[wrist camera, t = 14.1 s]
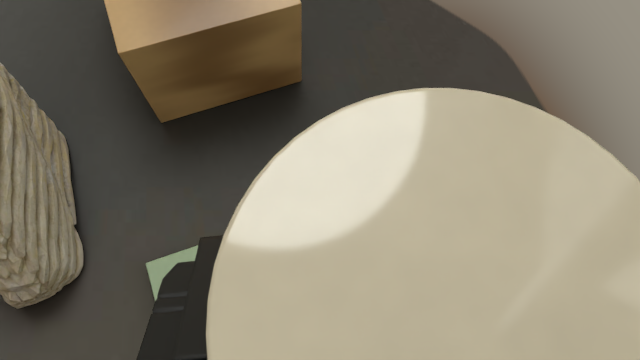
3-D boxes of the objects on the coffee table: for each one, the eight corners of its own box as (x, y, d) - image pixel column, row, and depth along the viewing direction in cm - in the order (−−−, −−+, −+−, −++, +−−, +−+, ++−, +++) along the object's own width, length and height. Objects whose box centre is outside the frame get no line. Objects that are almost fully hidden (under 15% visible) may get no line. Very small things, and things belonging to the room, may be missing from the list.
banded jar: (413, 213, 16) (563, 25, 7) (497, 402, 14) (862, 495, 5) (236, 275, 15) (133, 157, 6) (300, 487, 14) (297, 796, 4)
